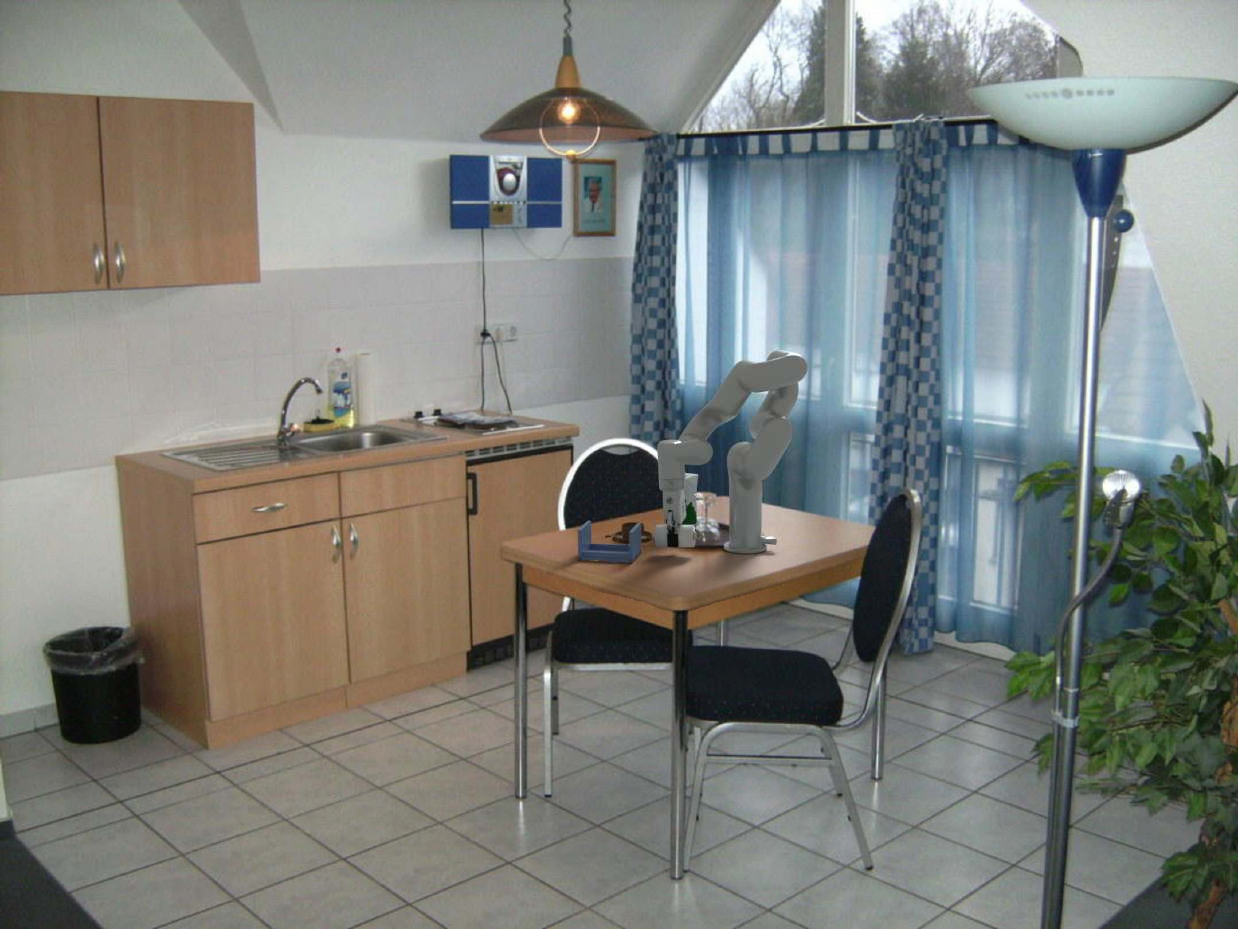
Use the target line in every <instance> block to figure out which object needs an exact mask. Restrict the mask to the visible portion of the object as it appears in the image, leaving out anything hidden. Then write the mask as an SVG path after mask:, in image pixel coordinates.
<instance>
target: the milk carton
mask: <svg viewBox="0 0 1238 929" xmlns="http://www.w3.org/2000/svg"><path fill="white" fill-rule="evenodd" d="M698 479H699V474H697V473H687V472H685V486H686V488H685V489H684V497H685V507H686V517H685V519H684V520H683V522H682V525H694V524H696V523H697V524H698V521H697V520H698V519H697V518H698V516H697V509H698V508H697V507H698V506H697V503H698V502H697V501H698V500H697V498H696V496H697V495H696V496H695V495H694V494H697V493H698V492H697V488H698Z"/></svg>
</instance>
